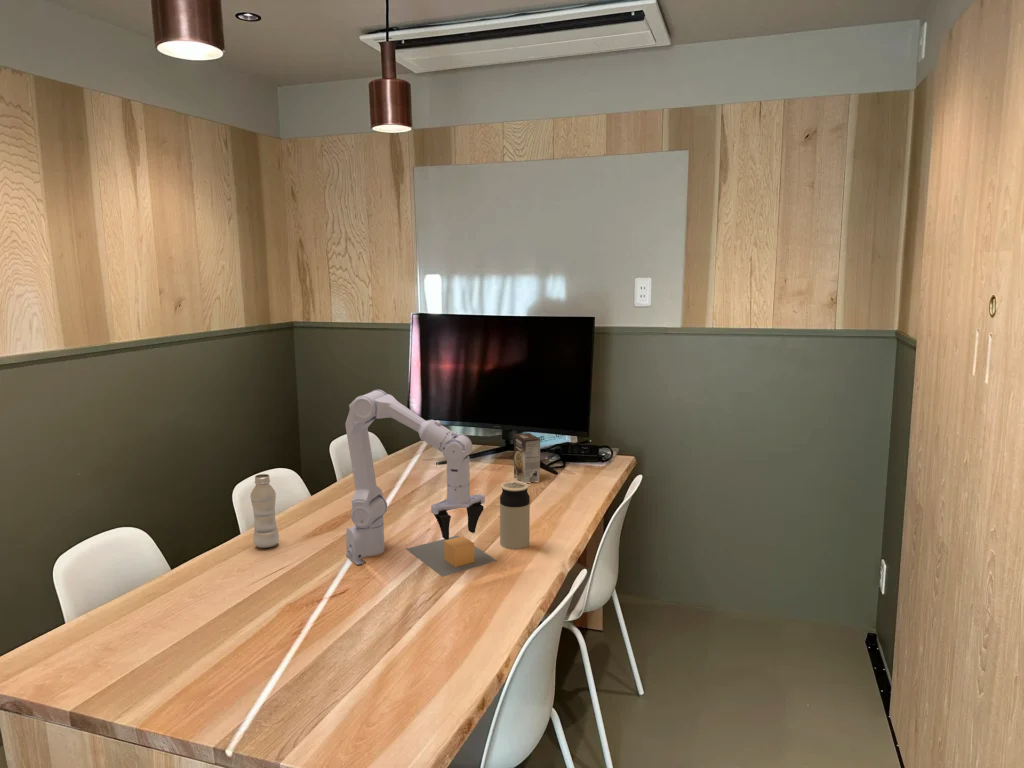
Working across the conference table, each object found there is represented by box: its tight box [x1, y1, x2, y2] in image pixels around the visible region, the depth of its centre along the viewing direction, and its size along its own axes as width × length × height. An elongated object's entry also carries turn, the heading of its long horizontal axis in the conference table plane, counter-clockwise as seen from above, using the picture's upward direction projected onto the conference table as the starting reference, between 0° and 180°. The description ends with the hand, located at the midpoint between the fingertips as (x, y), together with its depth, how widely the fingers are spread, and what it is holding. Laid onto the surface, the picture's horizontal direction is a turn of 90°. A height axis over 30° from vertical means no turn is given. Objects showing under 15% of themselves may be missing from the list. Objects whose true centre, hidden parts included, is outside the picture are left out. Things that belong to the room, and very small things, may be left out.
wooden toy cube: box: [444, 535, 475, 567], centre depth 177 cm, size 6×6×5 cm
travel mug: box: [499, 480, 531, 550], centre depth 187 cm, size 8×8×18 cm
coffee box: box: [513, 432, 541, 483], centre depth 246 cm, size 9×6×16 cm
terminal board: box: [405, 535, 498, 577], centre depth 180 cm, size 16×20×5 cm
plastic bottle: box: [249, 473, 280, 549], centre depth 188 cm, size 6×7×20 cm
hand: (458, 535), depth 176 cm, fingers open, 7 cm apart
